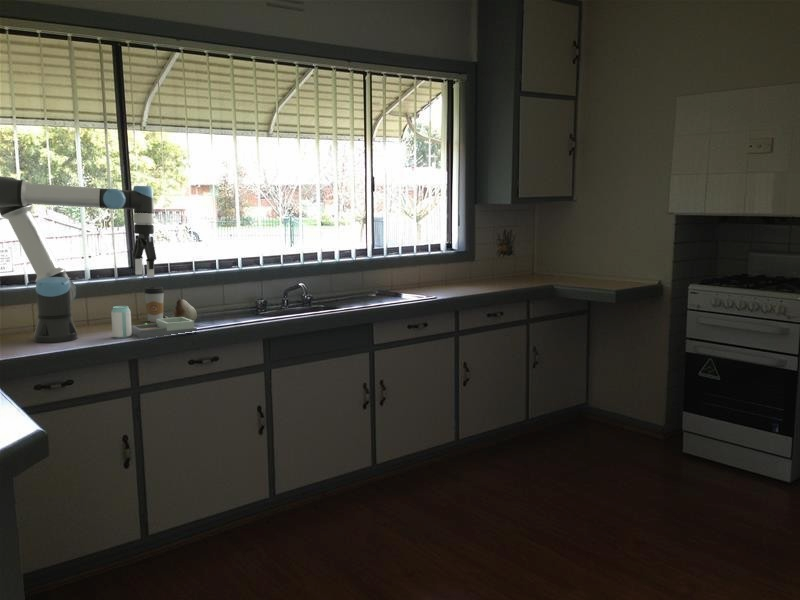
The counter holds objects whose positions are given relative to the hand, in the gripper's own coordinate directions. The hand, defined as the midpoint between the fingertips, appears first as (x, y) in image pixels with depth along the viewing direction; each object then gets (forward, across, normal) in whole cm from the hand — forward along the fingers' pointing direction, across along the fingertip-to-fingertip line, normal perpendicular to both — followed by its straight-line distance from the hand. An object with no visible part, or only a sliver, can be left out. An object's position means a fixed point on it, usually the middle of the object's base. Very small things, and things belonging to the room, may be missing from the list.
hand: (144, 275), depth 290 cm
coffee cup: (+22, +20, -11) cm, 32 cm away
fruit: (+22, 0, -18) cm, 28 cm away
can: (+23, -11, +13) cm, 29 cm away
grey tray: (+22, -13, -3) cm, 26 cm away
